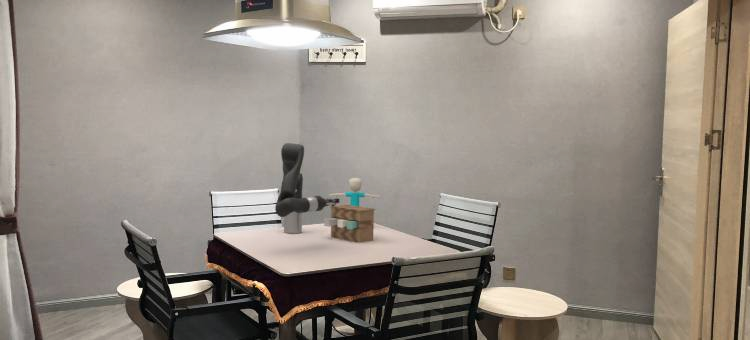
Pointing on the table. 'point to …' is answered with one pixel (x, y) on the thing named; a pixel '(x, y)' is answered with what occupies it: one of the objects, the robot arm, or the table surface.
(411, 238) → the table surface
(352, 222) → the teal key
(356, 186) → the toy
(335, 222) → the grey key
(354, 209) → the console
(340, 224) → the ivory key
